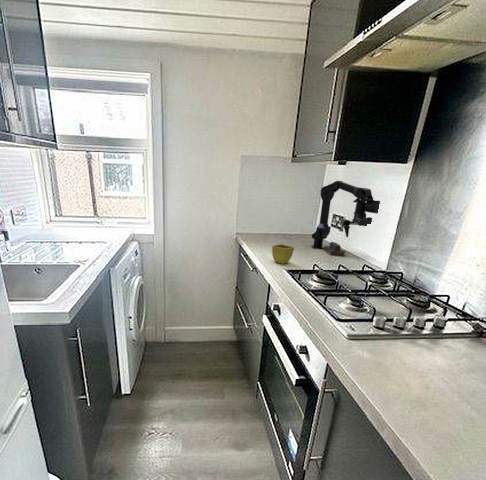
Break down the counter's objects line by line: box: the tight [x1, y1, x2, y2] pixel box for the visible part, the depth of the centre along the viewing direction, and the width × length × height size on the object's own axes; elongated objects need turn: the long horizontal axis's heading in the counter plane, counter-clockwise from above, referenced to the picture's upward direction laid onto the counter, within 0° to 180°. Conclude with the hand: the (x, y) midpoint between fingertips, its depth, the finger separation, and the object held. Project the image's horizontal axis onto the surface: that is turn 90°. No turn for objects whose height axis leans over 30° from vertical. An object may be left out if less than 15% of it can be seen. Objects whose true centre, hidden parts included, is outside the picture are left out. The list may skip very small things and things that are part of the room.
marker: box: [328, 241, 342, 251], centre depth 191 cm, size 11×3×3 cm, turn 177°
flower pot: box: [271, 243, 295, 265], centre depth 164 cm, size 9×9×9 cm
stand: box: [323, 245, 346, 257], centre depth 191 cm, size 14×8×2 cm, turn 177°
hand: (354, 237), depth 178 cm, fingers open, 9 cm apart
